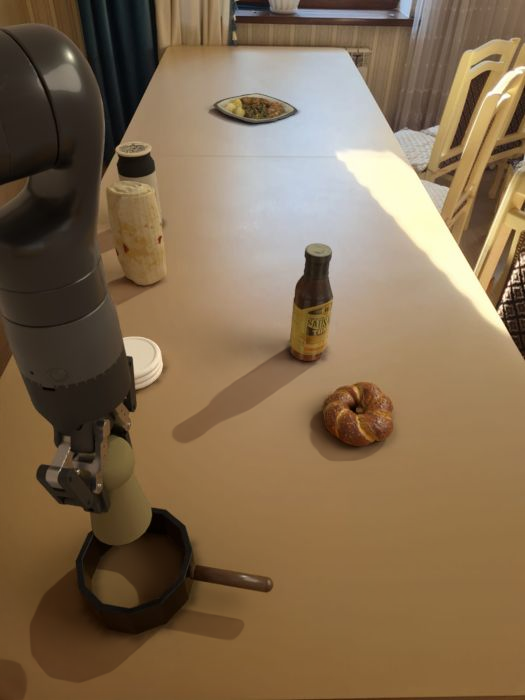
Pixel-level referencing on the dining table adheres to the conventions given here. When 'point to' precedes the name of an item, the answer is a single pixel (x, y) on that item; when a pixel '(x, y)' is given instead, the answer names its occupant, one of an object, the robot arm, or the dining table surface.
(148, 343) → the coaster
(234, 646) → the dining table surface
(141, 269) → the food model
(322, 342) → the sauce bottle
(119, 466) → the olive green pawn
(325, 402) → the pretzel
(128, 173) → the travel mug
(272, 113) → the meal
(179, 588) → the pan
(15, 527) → the dining table surface
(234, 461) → the dining table surface
